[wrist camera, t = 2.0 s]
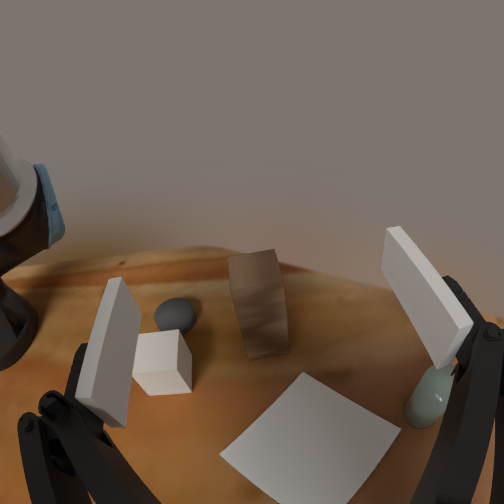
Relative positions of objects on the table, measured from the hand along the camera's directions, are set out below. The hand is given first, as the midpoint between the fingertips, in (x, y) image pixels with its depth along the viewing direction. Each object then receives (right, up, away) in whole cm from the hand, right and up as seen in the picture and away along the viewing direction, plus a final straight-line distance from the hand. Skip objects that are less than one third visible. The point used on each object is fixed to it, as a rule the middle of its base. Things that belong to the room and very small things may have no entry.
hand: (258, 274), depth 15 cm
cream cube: (-9, -13, +17) cm, 23 cm away
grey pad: (+5, -17, +9) cm, 19 cm away
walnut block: (+1, -9, +19) cm, 21 cm away
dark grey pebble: (-10, -8, +24) cm, 27 cm away
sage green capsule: (+16, -15, +9) cm, 24 cm away
